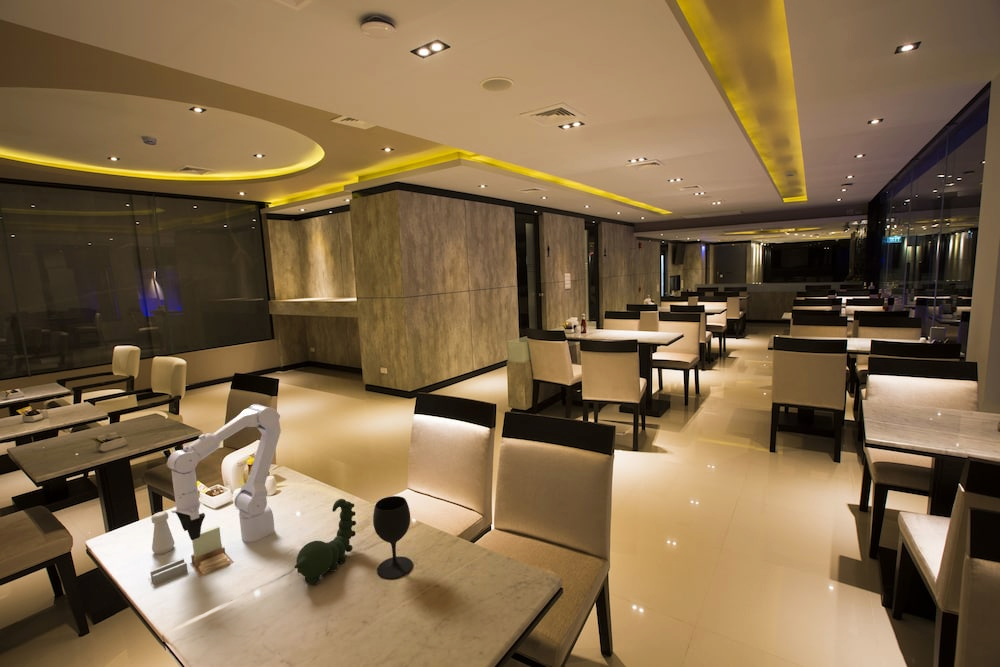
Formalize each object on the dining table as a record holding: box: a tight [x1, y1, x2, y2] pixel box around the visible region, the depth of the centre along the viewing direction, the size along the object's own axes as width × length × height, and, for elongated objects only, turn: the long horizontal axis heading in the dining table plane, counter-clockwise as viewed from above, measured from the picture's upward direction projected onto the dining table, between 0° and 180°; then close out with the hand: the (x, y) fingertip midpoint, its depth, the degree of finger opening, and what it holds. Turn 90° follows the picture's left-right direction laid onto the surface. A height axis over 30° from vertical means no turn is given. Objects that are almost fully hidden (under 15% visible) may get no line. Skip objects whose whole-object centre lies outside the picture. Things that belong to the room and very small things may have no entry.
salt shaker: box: [151, 510, 175, 555], centre depth 146 cm, size 6×6×13 cm
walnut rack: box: [189, 543, 235, 578], centre depth 139 cm, size 9×10×3 cm
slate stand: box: [148, 558, 191, 588], centre depth 133 cm, size 9×6×3 cm, turn 137°
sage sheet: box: [191, 525, 223, 558], centre depth 140 cm, size 7×2×9 cm, turn 137°
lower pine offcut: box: [199, 555, 230, 575], centre depth 137 cm, size 7×4×1 cm, turn 137°
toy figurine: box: [294, 498, 357, 586], centre depth 134 cm, size 9×19×25 cm
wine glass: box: [372, 495, 414, 580], centre depth 133 cm, size 10×10×20 cm
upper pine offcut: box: [201, 553, 227, 570], centre depth 137 cm, size 6×4×1 cm, turn 137°
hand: (191, 533), depth 138 cm, fingers open, 7 cm apart
